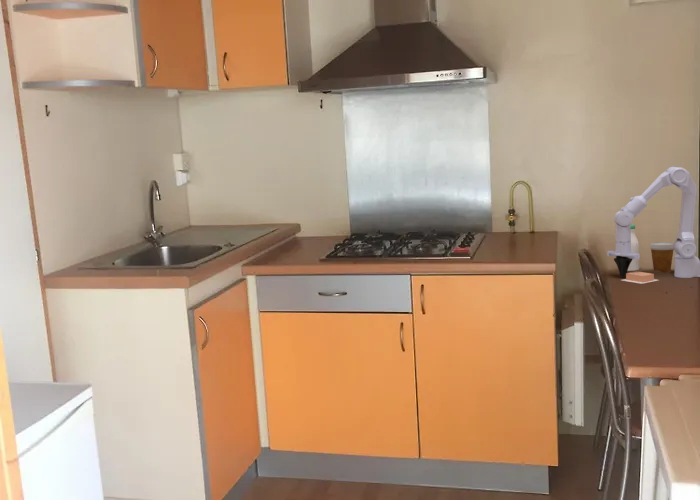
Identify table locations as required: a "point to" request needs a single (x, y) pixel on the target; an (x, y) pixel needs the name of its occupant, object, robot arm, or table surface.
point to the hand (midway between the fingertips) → (623, 275)
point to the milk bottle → (634, 250)
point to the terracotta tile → (639, 276)
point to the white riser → (638, 282)
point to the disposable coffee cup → (662, 256)
